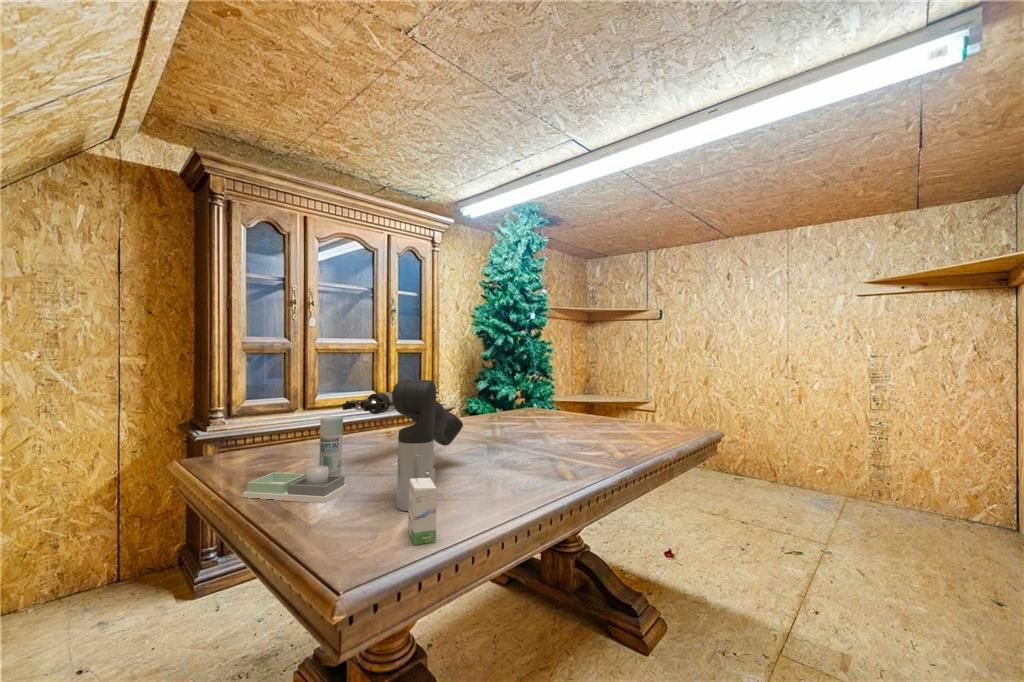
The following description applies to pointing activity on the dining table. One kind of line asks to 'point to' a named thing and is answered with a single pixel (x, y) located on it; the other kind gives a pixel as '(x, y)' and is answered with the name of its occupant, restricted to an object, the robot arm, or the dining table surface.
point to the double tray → (298, 486)
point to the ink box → (422, 510)
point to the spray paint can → (331, 443)
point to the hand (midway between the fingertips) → (353, 407)
